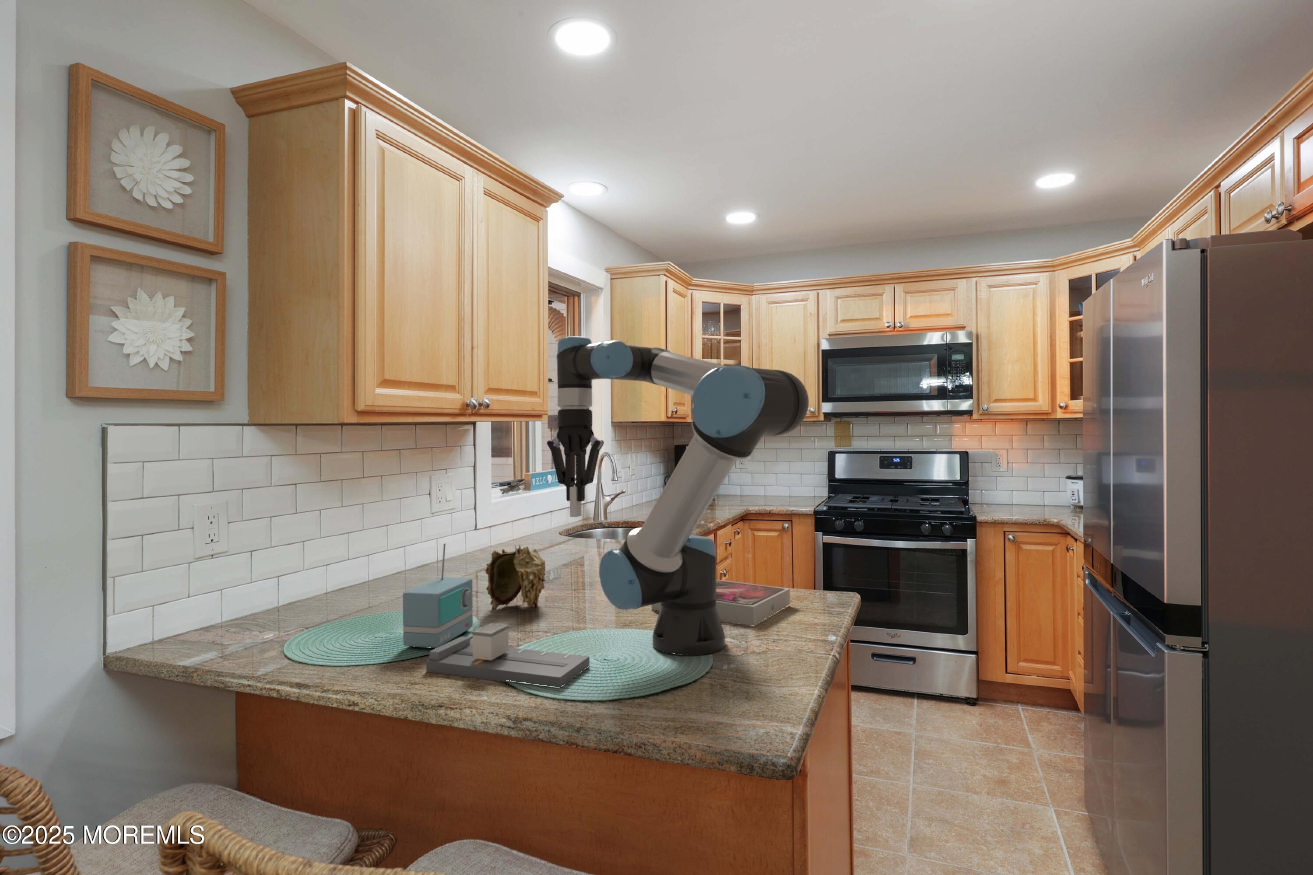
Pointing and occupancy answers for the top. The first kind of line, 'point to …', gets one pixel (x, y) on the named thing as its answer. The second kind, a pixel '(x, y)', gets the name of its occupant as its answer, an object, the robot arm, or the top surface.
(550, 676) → the fader console
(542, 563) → the seashell
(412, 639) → the radio
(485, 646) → the fader tab
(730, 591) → the product packaging
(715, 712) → the top surface
